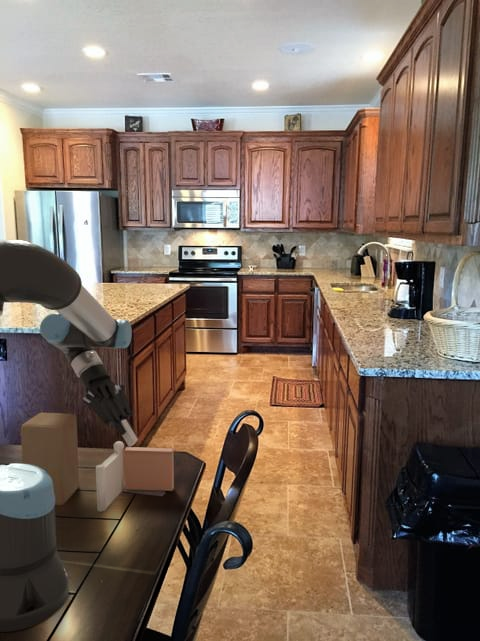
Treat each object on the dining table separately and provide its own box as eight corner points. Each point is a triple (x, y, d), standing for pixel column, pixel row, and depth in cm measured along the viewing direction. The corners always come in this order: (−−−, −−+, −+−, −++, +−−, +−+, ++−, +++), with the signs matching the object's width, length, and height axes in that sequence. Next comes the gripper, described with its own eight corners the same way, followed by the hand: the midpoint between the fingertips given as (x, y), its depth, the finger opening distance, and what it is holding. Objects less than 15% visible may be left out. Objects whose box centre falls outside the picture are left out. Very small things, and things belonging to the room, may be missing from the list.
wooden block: (80, 487, 127) (77, 412, 124) (63, 507, 118) (59, 427, 115) (43, 485, 128) (39, 411, 125) (23, 505, 119) (18, 425, 116)
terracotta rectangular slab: (125, 489, 125) (124, 450, 123) (127, 485, 127) (126, 446, 125) (172, 491, 124) (172, 451, 123) (173, 487, 126) (173, 448, 125)
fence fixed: (104, 512, 115) (103, 460, 113) (94, 510, 115) (92, 459, 113) (126, 486, 127) (125, 439, 125) (117, 485, 127) (116, 439, 126)
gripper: (76, 367, 129) (120, 443, 122) (116, 358, 140) (158, 428, 132) (64, 383, 133) (106, 458, 126) (104, 374, 144) (145, 443, 136)
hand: (133, 443), depth 129 cm, fingers closed
